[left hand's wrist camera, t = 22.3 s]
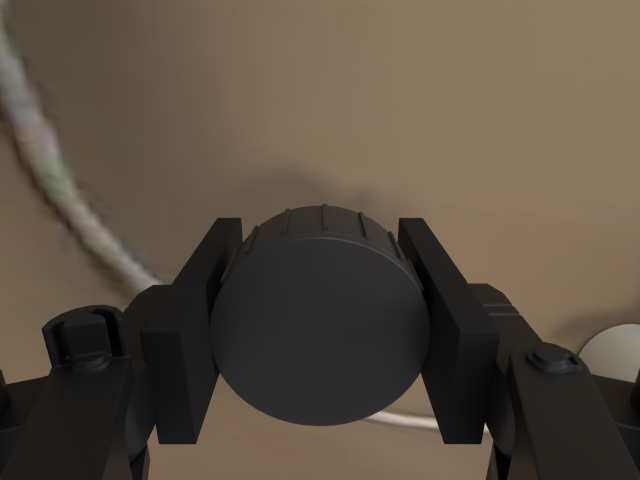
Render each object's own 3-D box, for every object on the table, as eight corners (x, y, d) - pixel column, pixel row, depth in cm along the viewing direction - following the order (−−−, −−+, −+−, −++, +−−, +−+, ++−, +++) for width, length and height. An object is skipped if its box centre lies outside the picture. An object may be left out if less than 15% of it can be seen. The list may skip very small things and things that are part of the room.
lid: (444, 324, 13) (470, 377, 10) (287, 395, 14) (281, 457, 11) (361, 166, 11) (371, 190, 9) (188, 260, 12) (159, 302, 10)
